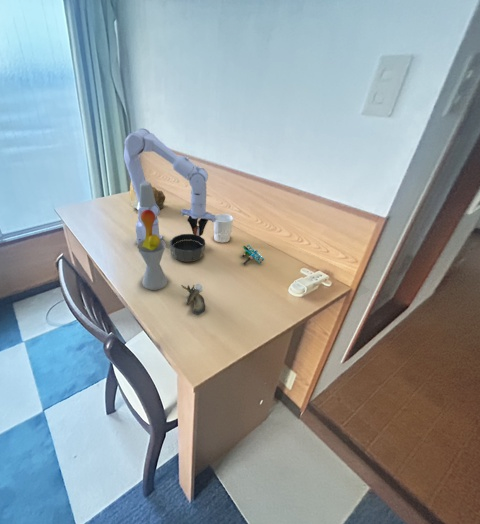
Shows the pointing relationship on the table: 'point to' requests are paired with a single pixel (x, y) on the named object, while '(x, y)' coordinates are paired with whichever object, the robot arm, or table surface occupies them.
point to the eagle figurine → (196, 298)
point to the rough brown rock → (157, 195)
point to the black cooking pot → (188, 246)
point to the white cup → (223, 227)
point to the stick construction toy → (251, 254)
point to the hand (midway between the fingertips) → (197, 234)
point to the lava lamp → (151, 242)
